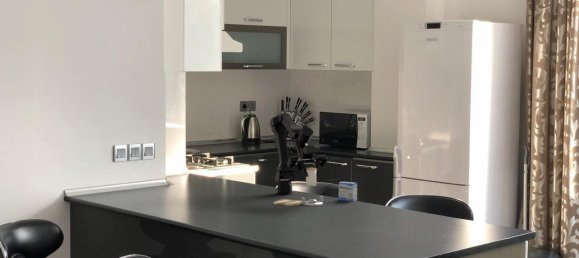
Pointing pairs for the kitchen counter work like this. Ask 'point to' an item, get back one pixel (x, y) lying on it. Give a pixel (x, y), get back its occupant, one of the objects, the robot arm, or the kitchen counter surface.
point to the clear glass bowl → (312, 202)
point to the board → (287, 202)
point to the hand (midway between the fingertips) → (312, 175)
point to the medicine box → (347, 191)
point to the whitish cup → (311, 177)
